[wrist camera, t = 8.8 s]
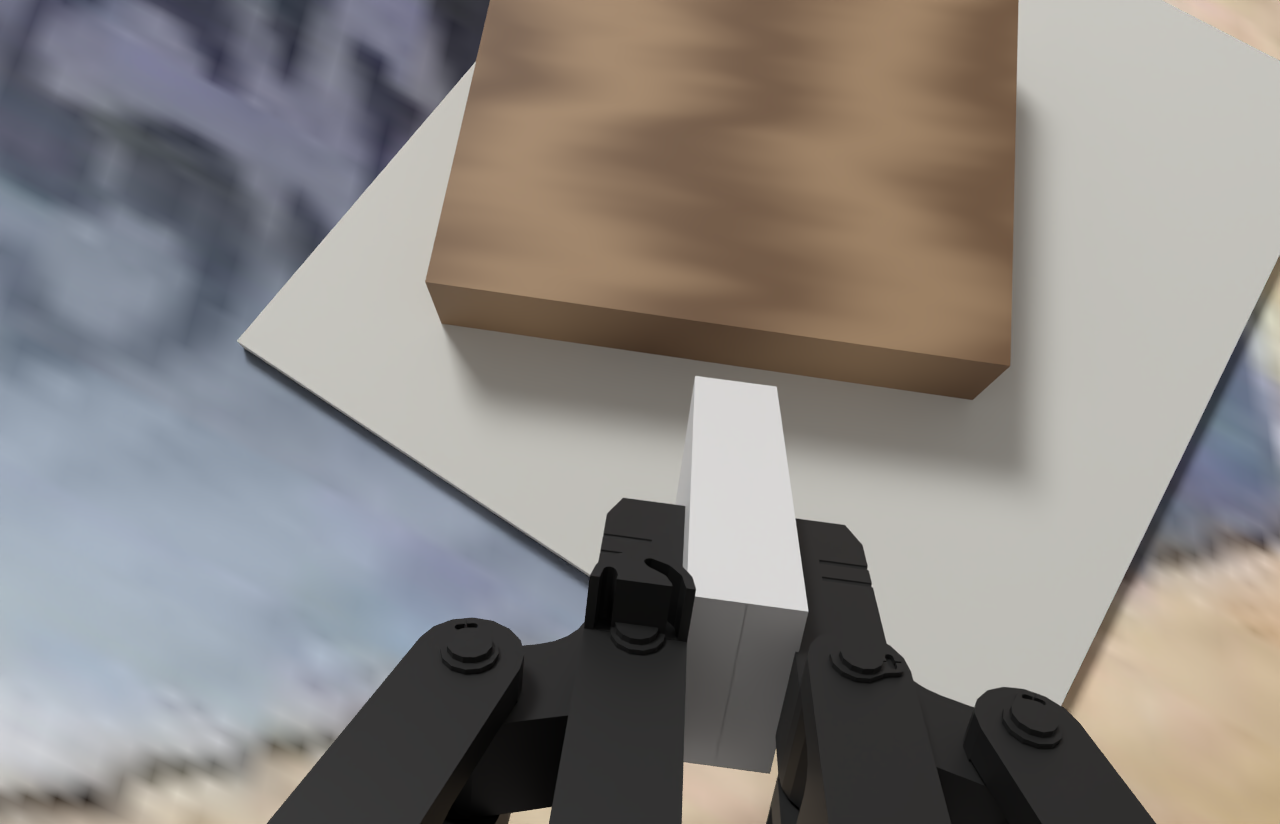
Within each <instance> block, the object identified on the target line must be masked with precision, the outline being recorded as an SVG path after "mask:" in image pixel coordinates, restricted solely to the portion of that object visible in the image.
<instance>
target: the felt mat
mask: <svg viewBox="0 0 1280 824" xmlns="http://www.w3.org/2000/svg"><path fill="white" fill-rule="evenodd" d="M475 64H476V62H475V63H474V64H473V66H472V67H471V68H470V69H469V70H468V71H467V73H466V74H465V75H464V76H463V77H462V78H461V80H460V81H459V82H458V83H457V84H456V85H455V87H454V88H453V89H452V90H451V91H450V92H449V94H448V95H447V96H446V97H445V98H444V99H443V101H442V102H441V103H440V104H439V105H438V106H437V108H436V109H435V110H434V111H433V112H432V113H431V115H430V116H429V117H428V118H427V119H426V120H425V122H424V123H423V124H422V125H421V126H420V128H419V129H418V130H417V131H416V132H415V133H414V135H413V136H412V137H411V138H410V139H409V140H408V142H407V143H406V144H405V145H404V146H403V147H402V149H401V150H400V151H399V152H398V153H397V154H396V156H395V157H394V158H393V159H392V160H391V161H390V163H389V164H388V165H387V166H386V167H385V168H384V170H383V171H382V172H381V173H380V174H379V175H378V177H377V178H376V179H375V180H374V181H373V182H372V184H371V185H370V186H369V187H368V188H367V189H366V191H365V192H364V193H363V194H362V195H361V196H360V198H359V199H358V200H357V201H356V202H355V203H354V205H353V206H352V207H351V208H350V209H349V210H348V212H347V213H346V214H345V215H344V216H343V217H342V219H341V220H340V221H339V222H338V223H337V225H336V226H335V227H334V228H333V229H332V230H331V232H330V233H329V234H328V235H327V236H326V237H325V239H324V240H323V241H322V242H321V243H320V244H319V246H318V247H317V248H316V249H315V250H314V251H313V253H312V254H311V255H310V256H309V257H308V258H307V260H306V261H305V262H304V263H303V264H302V265H301V267H300V268H299V269H298V270H297V271H296V272H295V274H294V275H293V276H292V277H291V278H290V279H289V281H288V282H287V283H286V284H285V285H284V286H283V288H282V289H281V290H280V291H279V292H278V293H277V295H276V296H275V297H274V298H273V299H272V300H271V302H270V303H269V304H268V305H267V306H266V307H265V309H264V310H263V311H262V312H261V313H260V314H259V316H258V317H257V318H256V319H255V320H254V322H253V323H252V324H251V325H250V326H249V327H248V329H247V330H246V331H245V332H244V333H243V334H242V336H241V337H240V338H239V339H238V340H237V342H238V343H239V344H240V345H241V346H242V347H243V348H245V349H247V350H248V351H250V352H251V353H253V354H254V355H256V356H257V357H259V358H260V359H262V360H263V361H265V362H266V363H268V364H269V365H271V366H272V367H274V368H275V369H277V370H278V371H280V372H281V373H283V374H284V375H286V376H287V377H289V378H290V379H292V380H293V381H295V382H296V383H298V384H299V385H301V386H302V387H304V388H305V389H307V390H308V391H310V392H311V393H313V394H314V395H316V396H317V397H319V398H320V399H322V400H324V401H325V402H327V403H328V404H330V405H331V406H333V407H334V408H336V409H337V410H339V411H340V412H342V413H343V414H345V415H346V416H348V417H349V418H351V419H352V420H354V421H355V422H357V423H358V424H360V425H361V426H363V427H364V428H366V429H367V430H369V431H370V432H372V433H373V434H375V435H376V436H378V437H379V438H381V439H382V440H384V441H385V442H387V443H388V444H390V445H391V446H393V447H394V448H396V449H397V450H399V451H400V452H402V453H404V454H405V455H407V456H408V457H410V458H411V459H413V460H414V461H416V462H417V463H419V464H420V465H422V466H423V467H425V468H426V469H428V470H429V471H431V472H432V473H434V474H435V475H437V476H438V477H440V478H441V479H443V480H444V481H446V482H447V483H449V484H450V485H452V486H453V487H455V488H456V489H458V490H459V491H461V492H462V493H464V494H465V495H467V496H468V497H470V498H471V499H473V500H474V501H476V502H477V503H479V504H481V505H482V506H484V507H485V508H487V509H488V510H490V511H491V512H493V513H494V514H496V515H497V516H499V517H500V518H502V519H503V520H505V521H506V522H508V523H509V524H511V525H512V526H514V527H515V528H517V529H518V530H520V531H521V532H523V533H524V534H526V535H527V536H529V537H530V538H532V539H533V540H535V541H536V542H538V543H539V544H541V545H542V546H544V547H545V548H547V549H548V550H550V551H551V552H553V553H554V554H556V555H558V556H559V557H561V558H562V559H564V560H565V561H567V562H568V563H570V564H571V565H573V566H574V567H576V568H577V569H579V570H580V571H582V572H583V573H585V574H586V575H588V576H589V577H590V574H591V572H592V571H593V569H594V567H595V565H596V564H597V563H598V561H599V555H600V550H601V544H602V538H603V533H604V527H605V522H606V516H607V513H608V512H609V511H610V510H611V509H612V508H613V507H614V506H615V505H616V504H617V503H618V502H619V501H620V500H621V499H622V498H630V499H637V500H645V501H652V502H660V503H667V504H675V503H676V497H677V490H678V484H679V477H680V470H681V464H682V457H683V451H684V444H685V438H686V431H687V425H688V418H689V412H690V405H691V399H692V392H693V386H694V379H695V376H700V377H707V378H715V379H723V380H730V381H738V382H745V383H753V384H761V385H768V386H776V387H777V392H778V399H779V406H780V413H781V420H782V427H783V435H784V442H785V449H786V456H787V463H788V470H789V477H790V484H791V491H792V498H793V505H794V513H795V518H797V519H804V520H812V521H819V522H827V523H835V524H842V525H846V527H847V528H848V529H849V530H850V531H851V532H852V533H853V535H854V536H855V537H856V538H857V539H858V540H859V542H860V543H861V544H862V545H863V549H864V553H865V557H866V561H867V565H868V568H867V570H869V573H870V577H871V581H872V587H873V590H874V594H875V598H876V602H877V606H878V610H879V614H880V618H881V622H882V626H883V631H884V635H885V639H886V643H887V644H888V645H890V646H891V647H892V648H893V649H895V650H896V651H897V652H898V653H899V654H900V655H901V656H902V657H903V658H904V659H905V661H906V663H907V665H908V667H909V669H910V670H911V673H912V677H913V681H915V682H916V683H918V684H919V685H921V686H923V687H924V688H926V689H928V690H930V691H932V692H935V693H937V694H939V695H941V696H944V697H947V698H950V699H952V700H955V701H958V702H961V703H963V704H966V705H969V706H972V707H974V706H975V704H976V701H977V699H978V698H979V697H980V696H981V695H982V694H984V693H985V692H986V691H987V690H991V689H995V688H1000V687H1011V688H1020V689H1026V690H1028V691H1031V692H1034V693H1037V694H1040V695H1043V696H1045V697H1047V698H1049V699H1050V700H1052V701H1053V702H1055V703H1057V704H1058V705H1060V706H1061V705H1062V703H1063V701H1064V699H1065V697H1066V695H1067V693H1068V691H1069V689H1070V687H1071V685H1072V683H1073V680H1074V678H1075V676H1076V674H1077V672H1078V670H1079V668H1080V666H1081V664H1082V662H1083V660H1084V658H1085V656H1086V654H1087V652H1088V649H1089V647H1090V645H1091V643H1092V641H1093V639H1094V637H1095V635H1096V633H1097V631H1098V629H1099V627H1100V625H1101V623H1102V621H1103V619H1104V616H1105V614H1106V612H1107V610H1108V608H1109V606H1110V604H1111V602H1112V600H1113V598H1114V596H1115V594H1116V592H1117V590H1118V588H1119V586H1120V583H1121V581H1122V579H1123V577H1124V575H1125V573H1126V571H1127V569H1128V567H1129V565H1130V563H1131V561H1132V559H1133V557H1134V555H1135V552H1136V550H1137V548H1138V546H1139V544H1140V542H1141V540H1142V538H1143V536H1144V534H1145V532H1146V530H1147V528H1148V526H1149V524H1150V522H1151V519H1152V517H1153V515H1154V513H1155V511H1156V509H1157V507H1158V505H1159V503H1160V501H1161V499H1162V497H1163V495H1164V493H1165V491H1166V489H1167V486H1168V484H1169V482H1170V480H1171V478H1172V476H1173V474H1174V472H1175V470H1176V468H1177V466H1178V464H1179V462H1180V460H1181V458H1182V456H1183V453H1184V451H1185V449H1186V447H1187V445H1188V443H1189V441H1190V439H1191V437H1192V435H1193V433H1194V431H1195V429H1196V427H1197V425H1198V422H1199V420H1200V418H1201V416H1202V414H1203V412H1204V410H1205V408H1206V406H1207V404H1208V402H1209V400H1210V398H1211V396H1212V394H1213V392H1214V389H1215V387H1216V385H1217V383H1218V381H1219V379H1220V377H1221V375H1222V373H1223V371H1224V369H1225V367H1226V365H1227V363H1228V361H1229V359H1230V356H1231V354H1232V352H1233V350H1234V348H1235V346H1236V344H1237V342H1238V340H1239V338H1240V336H1241V334H1242V332H1243V330H1244V328H1245V325H1246V323H1247V321H1248V319H1249V317H1250V315H1251V313H1252V311H1253V309H1254V307H1255V305H1256V303H1257V301H1258V299H1259V297H1260V295H1261V292H1262V290H1263V288H1264V286H1265V284H1266V282H1267V280H1268V278H1269V276H1270V274H1271V272H1272V270H1273V268H1274V266H1275V264H1276V262H1277V259H1278V257H1279V255H1280V61H1279V60H1277V59H1275V58H1273V57H1272V56H1270V55H1268V54H1266V53H1264V52H1262V51H1260V50H1258V49H1256V48H1254V47H1252V46H1250V45H1248V44H1246V43H1244V42H1242V41H1240V40H1238V39H1236V38H1234V37H1232V36H1230V35H1229V34H1227V33H1225V32H1223V31H1221V30H1219V29H1217V28H1215V27H1213V26H1211V25H1209V24H1207V23H1205V22H1203V21H1201V20H1199V19H1197V18H1195V17H1193V16H1191V15H1189V14H1188V13H1186V12H1184V11H1182V10H1180V9H1178V8H1176V7H1174V6H1172V5H1170V4H1168V3H1166V2H1164V1H1162V0H1019V3H1018V48H1017V93H1016V138H1015V183H1014V228H1013V273H1012V318H1011V363H1010V367H1009V368H1008V369H1007V370H1005V371H1004V372H1003V373H1002V374H1001V375H1000V376H999V377H998V378H997V379H995V380H994V381H993V382H992V383H991V384H990V385H989V386H988V387H987V388H986V389H984V390H983V391H982V392H981V393H980V394H979V395H978V396H977V397H976V398H974V399H973V400H968V399H961V398H954V397H947V396H940V395H933V394H926V393H919V392H912V391H905V390H899V389H892V388H885V387H878V386H871V385H864V384H857V383H850V382H843V381H836V380H829V379H822V378H815V377H808V376H801V375H794V374H787V373H781V372H774V371H767V370H760V369H753V368H746V367H739V366H732V365H725V364H718V363H711V362H704V361H697V360H690V359H683V358H676V357H670V356H663V355H656V354H649V353H642V352H635V351H628V350H621V349H614V348H607V347H600V346H593V345H586V344H579V343H572V342H565V341H559V340H552V339H545V338H538V337H531V336H524V335H517V334H510V333H503V332H496V331H489V330H482V329H475V328H468V327H461V326H454V325H448V324H441V321H440V319H439V316H438V314H437V311H436V308H435V306H434V303H433V301H432V298H431V296H430V293H429V291H428V288H427V285H426V283H425V280H426V276H427V271H428V267H429V263H430V258H431V254H432V250H433V245H434V241H435V237H436V232H437V228H438V224H439V219H440V215H441V211H442V206H443V202H444V198H445V193H446V189H447V185H448V180H449V176H450V172H451V168H452V163H453V159H454V155H455V150H456V146H457V142H458V137H459V133H460V129H461V124H462V120H463V116H464V111H465V107H466V103H467V98H468V94H469V90H470V85H471V81H472V77H473V72H474V68H475Z"/></svg>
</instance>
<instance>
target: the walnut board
mask: <svg viewBox="0 0 1280 824" xmlns="http://www.w3.org/2000/svg"><path fill="white" fill-rule="evenodd" d="M1018 3H1019V0H490V3H489V8H488V12H487V16H486V21H485V25H484V29H483V33H482V38H481V42H480V46H479V51H478V55H477V59H476V64H475V68H474V72H473V77H472V81H471V85H470V90H469V94H468V98H467V103H466V107H465V111H464V116H463V120H462V124H461V129H460V133H459V137H458V142H457V146H456V150H455V155H454V159H453V163H452V168H451V172H450V176H449V180H448V185H447V189H446V193H445V198H444V202H443V206H442V211H441V215H440V219H439V224H438V228H437V232H436V237H435V241H434V245H433V250H432V254H431V258H430V263H429V267H428V271H427V276H426V280H425V283H426V285H427V288H428V291H429V293H430V296H431V298H432V301H433V303H434V306H435V308H436V311H437V314H438V316H439V319H440V321H441V324H448V325H454V326H461V327H468V328H475V329H482V330H489V331H496V332H503V333H510V334H517V335H524V336H531V337H538V338H545V339H552V340H559V341H565V342H572V343H579V344H586V345H593V346H600V347H607V348H614V349H621V350H628V351H635V352H642V353H649V354H656V355H663V356H670V357H676V358H683V359H690V360H697V361H704V362H711V363H718V364H725V365H732V366H739V367H746V368H753V369H760V370H767V371H774V372H781V373H787V374H794V375H801V376H808V377H815V378H822V379H829V380H836V381H843V382H850V383H857V384H864V385H871V386H878V387H885V388H892V389H899V390H905V391H912V392H919V393H926V394H933V395H940V396H947V397H954V398H961V399H968V400H973V399H974V398H976V397H977V396H978V395H979V394H980V393H981V392H982V391H983V390H984V389H986V388H987V387H988V386H989V385H990V384H991V383H992V382H993V381H994V380H995V379H997V378H998V377H999V376H1000V375H1001V374H1002V373H1003V372H1004V371H1005V370H1007V369H1008V368H1009V367H1010V363H1011V318H1012V273H1013V228H1014V183H1015V138H1016V93H1017V48H1018Z"/></svg>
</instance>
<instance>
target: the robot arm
mask: <svg viewBox="0 0 1280 824" xmlns="http://www.w3.org/2000/svg"><path fill="white" fill-rule="evenodd" d="M867 568H868V565H867V561H866V557H865V553H864V549H863V545H862V544H861V543H860V542H859V540H858V539H857V538H856V537H855V536H854V535H853V533H852V532H851V531H850V530H849V529H848V528H847V527H846V525H842V524H835V523H827V522H819V521H812V520H804V519H797V518H795V513H794V505H793V498H792V491H791V484H790V477H789V470H788V463H787V456H786V449H785V442H784V435H783V427H782V420H781V413H780V406H779V399H778V392H777V387H776V386H768V385H761V384H753V383H745V382H738V381H730V380H723V379H715V378H707V377H700V376H695V379H694V386H693V392H692V399H691V405H690V412H689V418H688V425H687V431H686V438H685V444H684V451H683V457H682V464H681V470H680V477H679V484H678V490H677V497H676V503H675V504H667V503H660V502H652V501H645V500H637V499H630V498H622V499H621V500H620V501H619V502H618V503H617V504H616V505H615V506H614V507H613V508H612V509H611V510H610V511H609V512H608V513H607V516H606V522H605V527H604V533H603V538H602V544H601V550H600V555H599V561H598V563H597V564H596V565H595V567H594V569H593V571H592V572H591V574H590V579H589V588H588V597H587V606H586V615H585V622H584V623H583V624H582V625H581V627H580V628H579V629H578V630H576V631H575V632H573V633H572V634H570V635H569V636H567V637H564V638H562V639H559V640H556V641H553V642H548V643H543V644H536V645H526V646H522V644H521V640H520V639H519V638H518V637H517V636H516V635H515V634H514V633H513V632H512V631H511V630H510V629H509V628H507V627H505V626H502V625H500V624H498V623H496V622H494V621H490V620H484V619H478V618H464V619H453V620H450V621H447V622H444V623H442V624H439V625H436V626H434V627H432V628H431V629H430V630H429V631H427V632H426V633H425V634H424V635H422V636H421V637H420V638H419V639H418V641H417V642H416V643H415V644H414V645H413V647H412V648H411V649H410V650H409V652H408V653H407V654H406V655H405V656H404V658H403V659H402V660H401V661H400V662H399V664H398V665H397V666H396V667H395V669H394V670H393V671H392V672H391V673H390V675H389V676H388V677H387V678H386V679H385V681H384V682H383V683H382V684H381V686H380V687H379V688H378V689H377V690H376V692H375V693H374V694H373V695H372V696H371V698H370V699H369V700H368V701H367V703H366V704H365V705H364V706H363V707H362V709H361V710H360V711H359V712H358V713H357V715H356V716H355V717H354V718H353V720H352V721H351V722H350V723H349V724H348V726H347V727H346V728H345V729H344V730H343V732H342V733H341V734H340V735H339V737H338V738H337V739H336V740H335V741H334V743H333V744H332V745H331V746H330V747H329V749H328V750H327V751H326V752H325V754H324V755H323V756H322V757H321V758H320V760H319V761H318V762H317V763H316V764H315V766H314V767H313V768H312V769H311V771H310V772H309V773H308V774H307V775H306V777H305V778H304V779H303V780H302V781H301V783H300V784H299V785H298V786H297V788H296V789H295V790H294V791H293V792H292V794H291V795H290V796H289V797H288V798H287V800H286V801H285V802H284V803H283V805H282V806H281V807H280V808H279V809H278V811H277V812H276V813H275V814H274V815H273V817H272V818H271V819H270V820H269V822H268V823H267V824H508V822H509V818H510V814H511V813H513V812H520V811H527V810H533V809H540V808H546V807H552V810H551V815H550V821H549V824H682V791H683V762H688V763H695V764H702V765H710V766H717V767H724V768H732V769H739V770H747V771H754V772H761V773H769V774H770V771H771V767H772V762H773V758H774V754H775V750H776V749H777V762H778V777H777V781H776V785H775V789H774V793H773V798H772V802H771V806H770V810H769V814H768V818H767V822H766V824H1156V823H1155V822H1154V820H1153V819H1152V818H1151V816H1150V815H1149V814H1148V812H1147V811H1146V810H1145V808H1144V807H1143V806H1142V804H1141V803H1140V802H1139V800H1138V799H1137V798H1136V797H1135V795H1134V794H1133V793H1132V791H1131V790H1130V789H1129V787H1128V786H1127V785H1126V783H1125V782H1124V781H1123V779H1122V778H1121V777H1120V776H1119V774H1118V773H1117V772H1116V770H1115V769H1114V768H1113V766H1112V765H1111V764H1110V762H1109V761H1108V760H1107V758H1106V757H1105V756H1104V754H1103V753H1102V752H1101V751H1100V749H1099V748H1098V747H1097V745H1096V744H1095V743H1094V741H1093V740H1092V739H1091V737H1090V736H1089V735H1088V733H1087V732H1086V731H1085V730H1084V728H1083V727H1082V726H1081V724H1080V723H1079V722H1078V721H1077V720H1076V719H1075V718H1074V717H1073V716H1072V715H1071V714H1070V713H1069V712H1068V711H1067V710H1066V709H1065V708H1063V707H1062V706H1060V705H1058V704H1057V703H1055V702H1053V701H1052V700H1050V699H1049V698H1047V697H1045V696H1043V695H1040V694H1037V693H1034V692H1031V691H1028V690H1026V689H1020V688H1011V687H1000V688H995V689H991V690H987V691H986V692H985V693H984V694H982V695H981V696H980V697H979V698H978V699H977V701H976V704H975V706H974V707H972V706H969V705H966V704H963V703H961V702H958V701H955V700H952V699H950V698H947V697H944V696H941V695H939V694H937V693H935V692H932V691H930V690H928V689H926V688H924V687H923V686H921V685H919V684H918V683H916V682H915V681H913V677H912V673H911V670H910V669H909V667H908V665H907V663H906V661H905V659H904V658H903V657H902V656H901V655H900V654H899V653H898V652H897V651H896V650H895V649H893V648H892V647H891V646H890V645H888V644H887V643H886V639H885V635H884V631H883V626H882V622H881V618H880V614H879V610H878V606H877V602H876V598H875V594H874V590H873V587H872V581H871V577H870V573H869V570H867Z"/></svg>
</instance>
